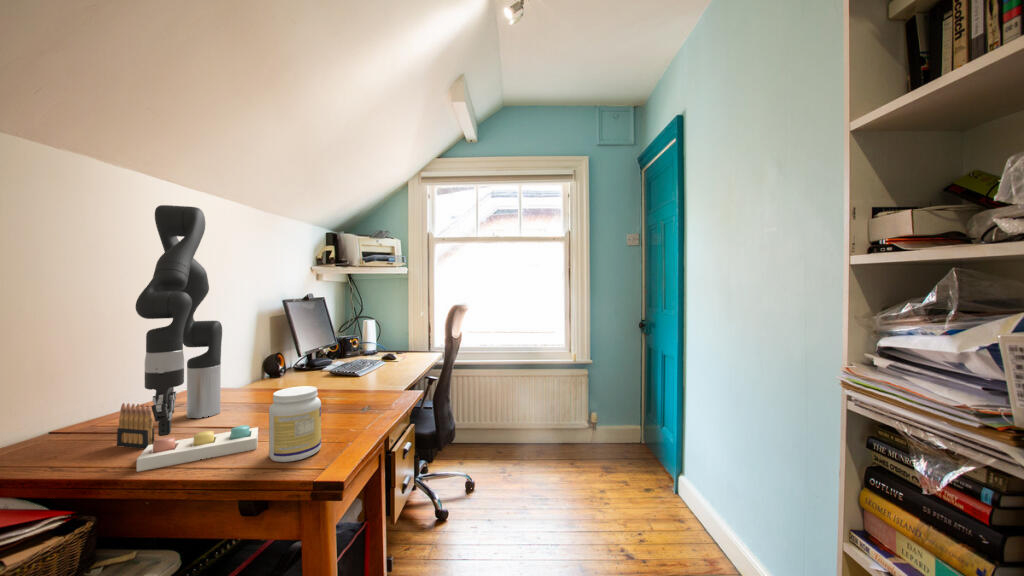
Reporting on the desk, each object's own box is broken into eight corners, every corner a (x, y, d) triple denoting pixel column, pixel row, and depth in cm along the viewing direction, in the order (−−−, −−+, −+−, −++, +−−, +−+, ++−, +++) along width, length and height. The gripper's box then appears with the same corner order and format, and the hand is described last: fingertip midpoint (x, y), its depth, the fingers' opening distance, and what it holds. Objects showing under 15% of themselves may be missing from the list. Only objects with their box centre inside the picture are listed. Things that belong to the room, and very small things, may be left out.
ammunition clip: (116, 446, 105) (116, 403, 105) (124, 443, 107) (124, 401, 107) (147, 449, 103) (147, 405, 103) (154, 446, 105) (154, 403, 105)
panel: (148, 456, 98) (148, 445, 98) (258, 437, 111) (258, 427, 111) (136, 471, 90) (136, 459, 90) (256, 449, 103) (256, 438, 103)
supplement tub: (330, 450, 102) (330, 388, 102) (284, 468, 92) (285, 399, 92) (305, 441, 108) (305, 383, 109) (259, 457, 98) (259, 392, 98)
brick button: (155, 455, 97) (155, 439, 97) (176, 451, 99) (176, 435, 99) (150, 461, 93) (150, 444, 93) (172, 457, 96) (173, 441, 96)
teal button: (231, 441, 106) (231, 427, 106) (249, 438, 108) (249, 424, 108) (230, 447, 102) (230, 431, 102) (248, 443, 104) (249, 428, 104)
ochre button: (195, 448, 101) (195, 432, 101) (214, 444, 104) (214, 429, 104) (192, 454, 98) (192, 438, 98) (212, 450, 100) (212, 434, 100)
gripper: (152, 365, 100) (152, 429, 100) (136, 375, 89) (136, 447, 89) (188, 362, 104) (188, 424, 104) (178, 371, 93) (178, 440, 93)
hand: (164, 434), depth 97 cm, fingers closed
